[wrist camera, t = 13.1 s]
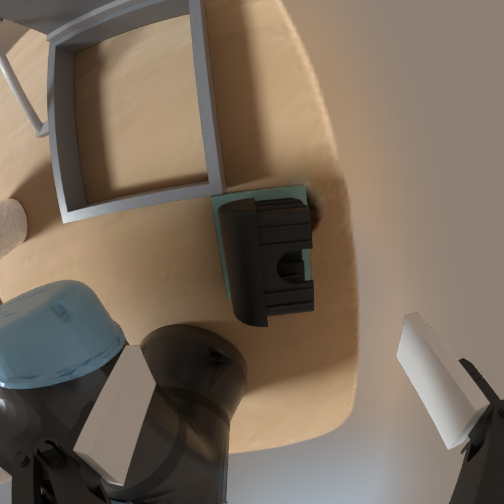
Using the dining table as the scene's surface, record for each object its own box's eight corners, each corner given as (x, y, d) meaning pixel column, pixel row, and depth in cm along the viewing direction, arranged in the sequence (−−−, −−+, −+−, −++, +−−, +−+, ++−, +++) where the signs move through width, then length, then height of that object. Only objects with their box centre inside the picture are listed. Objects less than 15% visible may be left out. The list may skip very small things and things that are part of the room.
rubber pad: (309, 285, 30) (311, 290, 29) (228, 295, 31) (227, 299, 30) (303, 185, 26) (305, 186, 26) (212, 195, 27) (210, 196, 26)
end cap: (222, 199, 26) (212, 214, 20) (296, 191, 26) (311, 204, 19) (235, 293, 29) (232, 331, 23) (302, 286, 29) (315, 322, 23)
